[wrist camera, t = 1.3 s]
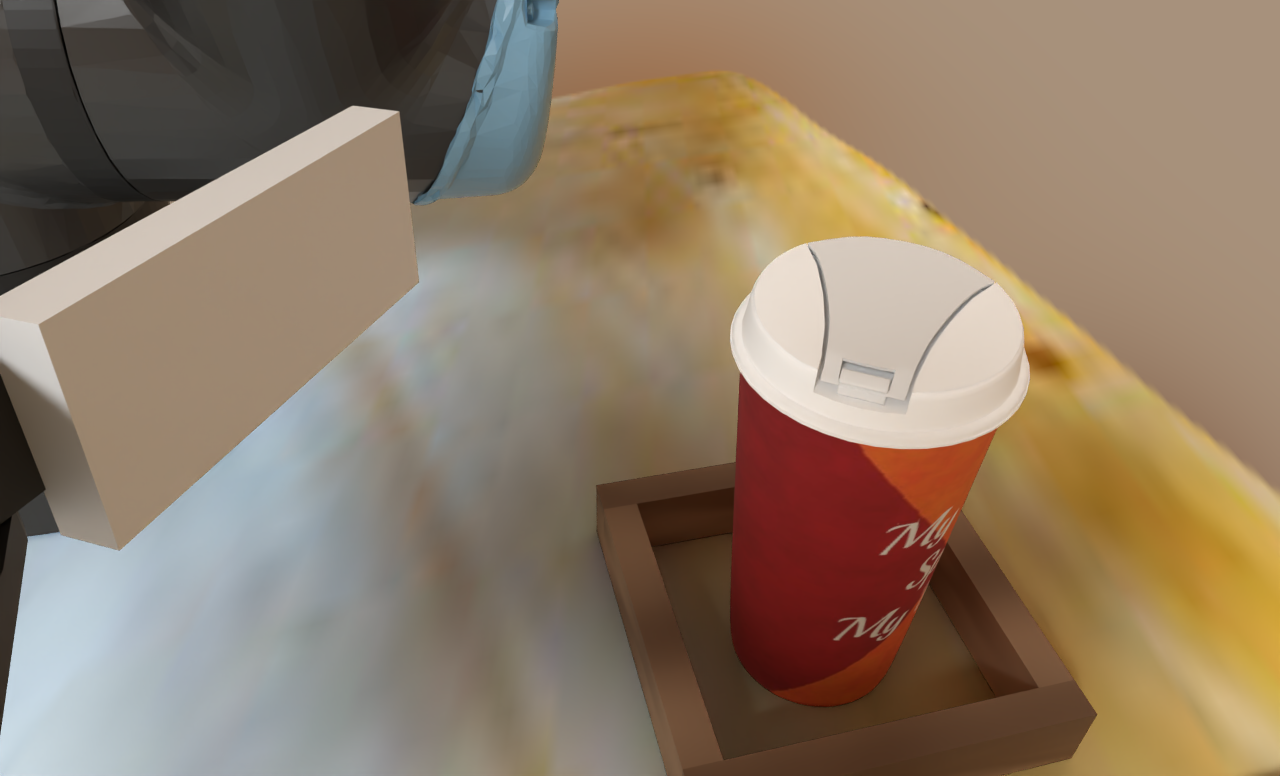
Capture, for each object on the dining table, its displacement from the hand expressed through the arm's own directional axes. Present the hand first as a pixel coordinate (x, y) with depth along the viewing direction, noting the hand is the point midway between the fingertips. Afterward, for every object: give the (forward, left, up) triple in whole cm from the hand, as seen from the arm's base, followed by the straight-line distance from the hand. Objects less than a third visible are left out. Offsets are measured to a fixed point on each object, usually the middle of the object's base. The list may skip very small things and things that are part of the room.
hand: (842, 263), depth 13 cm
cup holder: (-8, +6, -21) cm, 24 cm away
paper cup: (-8, +6, -21) cm, 24 cm away
